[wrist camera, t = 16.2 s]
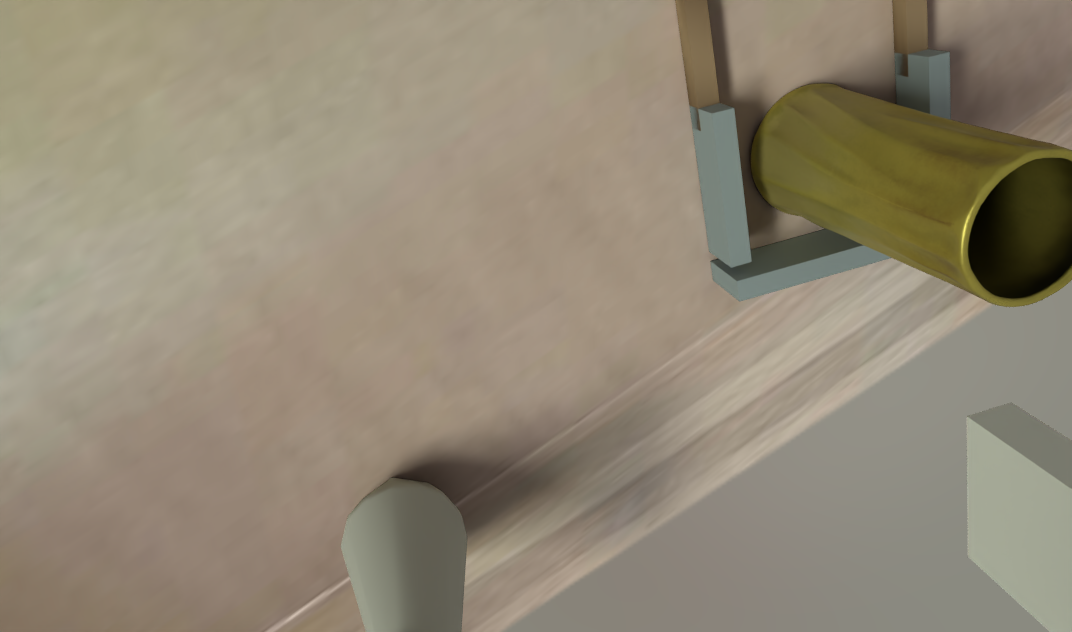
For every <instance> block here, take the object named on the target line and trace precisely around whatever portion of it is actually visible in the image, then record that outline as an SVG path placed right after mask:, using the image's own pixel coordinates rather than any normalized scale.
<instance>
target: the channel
mask: <svg viewBox="0 0 1072 632" xmlns="http://www.w3.org/2000/svg"><path fill="white" fill-rule="evenodd" d="M675 2H676V9H677V16H678V24H679V31H680V39H681V46H682V53H683V61H684V68H685V76H686V83H687V90H688V98H689V105H690V106H692V107H693V108H694V107H695V108H698V109H699V108H703V107H707V106H711V105H714V104H718V103H720V102H719V94H718V85H717V77H716V69H715V61H714V52H713V44H712V36H711V27H710V19H709V11H708V3H707V0H675ZM893 25H894V50H895V53H900V54H903V55H904V56H903V57H898V58H897V60H898V61H901V60H903V61H905V60H906V61H905V62H902V63H903V65H905V67H904V66H903V65H899V64H901V63H899V62H898V63H899V64H898V65H897V66H898V67H899V66H902V67H901V68H902V72H901V71H900V74H898V75H900V76H901V75H902V73H905V75H904V74H903V76H905V77H908V70H906V69H908V54H912V53H916V52H919V51H923V50H927V49H928V26H927V0H893ZM901 56H902V55H901ZM906 56H907V57H906ZM904 57H906V58H904ZM899 58H900V59H901V58H902V59H901V60H899ZM897 60H896V61H897ZM897 66H896V67H897ZM901 68H900V67H899V69H898V70H900V69H901ZM895 70H896V71H897V69H895ZM898 72H899V71H898ZM698 109H696V110H697V111H695V112H697V113H698V114H697V115H695V117H696V116H698V117H699V112H698ZM694 110H695V109H694ZM698 117H696V118H697V119H698V121H696V122H697V124H699V125H697V127H698V126H699V127H698V128H696V129H698V130H699V131H701V127H700V119H699V118H698ZM694 122H695V121H694ZM695 125H696V124H695ZM695 127H696V126H695ZM699 128H700V129H699Z"/></svg>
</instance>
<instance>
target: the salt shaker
mask: <svg viewBox="0 0 1072 632" xmlns="http://www.w3.org/2000/svg"><path fill="white" fill-rule="evenodd" d="M341 549H342V553H343V556H344V559H345V563H346V566H347V570H348V573H349V577H350V580H351V583H352V587H353V590H354V593H355V597H356V600H357V603H358V607H359V610H360V613H361V617H362V620H363V623H364V627H365V630H366V632H461V630H462V614H463V597H464V581H465V565H466V549H467V534H466V530H465V526H464V522H463V518H462V515H461V513H460V511H459V510H458V508H457V507H456V506H455V505H454V504H453V503H452V502H451V501H450V500H449V498H448V497H447V496H446V495H445V494H444V493H443V492H442V491H440V490H439V489H437V488H436V487H434V486H433V485H431V484H430V483H427V482H420V481H413V480H406V479H399V478H390V479H389V480H388V481H386V482H385V483H384V484H382V485H381V486H380V487H378V488H377V489H375V490H374V491H373V492H371V493H370V494H369V495H367V496H366V497H365V498H363V499H362V500H361V501H360V502H359V504H358V505H357V506H356V507H355V508H354V510H353V511H352V512H351V513H350V514H349V516H348V518H347V522H346V527H345V531H344V535H343V539H342V543H341Z"/></svg>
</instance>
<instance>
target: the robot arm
mask: <svg viewBox="0 0 1072 632" xmlns="http://www.w3.org/2000/svg"><path fill="white" fill-rule="evenodd" d="M967 497H968V498H967V501H968V504H967V505H968V557H969V558H970V559H971V560H972V561H973V562H975V563H976V564H977V565H978V566H979V567H980V568H981V569H982V570H983V571H984V572H985V573H986V574H988V575H989V576H990V577H991V578H992V579H993V580H994V581H995V582H996V583H997V584H998V585H999V586H1001V587H1002V588H1003V589H1004V590H1005V591H1006V592H1007V593H1008V594H1009V595H1010V596H1011V597H1013V598H1014V599H1015V600H1016V601H1017V602H1018V603H1019V604H1020V605H1021V606H1022V607H1023V608H1025V609H1026V610H1027V611H1028V612H1029V613H1030V614H1031V615H1032V616H1033V617H1034V618H1036V619H1037V620H1038V621H1039V622H1040V623H1041V624H1042V625H1043V626H1044V627H1045V628H1046V629H1047V630H1049V631H1050V632H1072V440H1070V439H1069V438H1067V437H1065V436H1064V435H1062V434H1061V433H1059V432H1057V431H1056V430H1054V429H1053V428H1051V427H1049V426H1048V425H1046V424H1045V423H1043V422H1041V421H1040V420H1038V419H1037V418H1035V417H1034V416H1032V415H1030V414H1029V413H1027V412H1026V411H1024V410H1022V409H1021V408H1019V407H1018V406H1016V405H1015V404H1013V403H1008V404H1004V405H1002V406H998V407H995V408H992V409H989V410H986V411H982V412H979V413H976V414H973V415H969V416H967Z"/></svg>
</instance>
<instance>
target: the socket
mask: <svg viewBox="0 0 1072 632" xmlns="http://www.w3.org/2000/svg"><path fill="white" fill-rule="evenodd" d="M901 55H902V56H901ZM903 56H904V55H903V54H900V53H895V69H897V71H896V70H895V76H896V101H897V105H900V106H903V107H907V108H911V109H914V110H917V111H921V112H924V113H928V114H931V115H935V116H939V117H942V118H946V119H950V120H951V108H950V52H947V51H938V50H930V49H927V50H923V51H919V52H916V53H912V54H908V69H906V70H908V77H905V76H903V74H904V75H905V73H902V75H901V76H900V75H898V74H900V71H901V72H902V68H901V67H902V66H899V67H900V68H901V69H900V70H898V69H899V67H898V66H897V65H898V64H899V63H901V64H899V65H903V63H902V62H905V61H906V60H905V61H903V60H901V59H902V58H901V59H900V58H899V60H901V61H898V60H897V58H898V57H903ZM906 57H907V56H906ZM906 57H904V58H906ZM896 60H897V61H896ZM898 62H899V63H898ZM896 66H897V67H896ZM903 66H904V67H905V65H903ZM898 71H899V72H898ZM694 109H695V110H694ZM696 109H698V108H695V107H694V108H693V107H692V106H690V113H691V120H692V127H693V135H694V142H695V150H696V157H697V164H698V172H699V179H700V187H701V194H702V201H703V209H704V216H705V224H706V231H707V238H708V246H709V252H710V253H712V254H713V255H715V256H716V257H717V258H719V259H717V260H713V261H711V268H712V275H713V281H715V282H716V283H717V284H718V285H720V286H721V287H722V288H723V289H725V290H726V291H727V292H728V293H730V294H731V295H732V296H733V297H734V298H736V299H737V300H738V301H739V302H740V301H743V300H747V299H750V298H754V297H757V296H761V295H764V294H767V293H771V292H774V291H778V290H781V289H785V288H788V287H792V286H795V285H799V284H802V283H806V282H809V281H813V280H816V279H820V278H823V277H827V276H830V275H834V274H837V273H841V272H844V271H847V270H851V269H854V268H858V267H861V266H865V265H868V264H872V263H875V262H879V261H882V260H886V259H889V258H891V257H889V256H887V255H885V254H882V253H880V252H878V251H875V250H873V249H871V248H869V247H866V246H864V245H862V244H860V243H858V242H856V241H853V240H851V239H849V238H847V237H845V236H843V235H840V234H838V233H836V232H833V231H831V230H828V229H824V230H820V231H817V232H813V233H810V234H806V235H803V236H799V237H795V238H792V239H788V240H785V241H781V242H778V243H774V244H770V245H767V246H763V247H760V248H756V249H753V250H750V242H749V234H748V225H747V216H746V207H745V199H744V190H743V181H742V172H741V164H740V155H739V146H738V138H737V129H736V120H735V111H734V108H733V107H730V106H727V105H724V104H721V103H718V104H714V105H711V106H707V107H703V108H699V109H698V112H699V117H698V116H696V117H698V118H699V119H700V127H701V131H699V130H698V129H696V128H698V127H699V126H698V127H697V125H699V124H697V122H696V121H698V119H697V118H696V117H695V115H697V114H698V113H697V112H695V111H697V110H696ZM694 121H695V122H694ZM695 124H696V125H695ZM695 126H696V127H695ZM699 129H700V128H699Z"/></svg>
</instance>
